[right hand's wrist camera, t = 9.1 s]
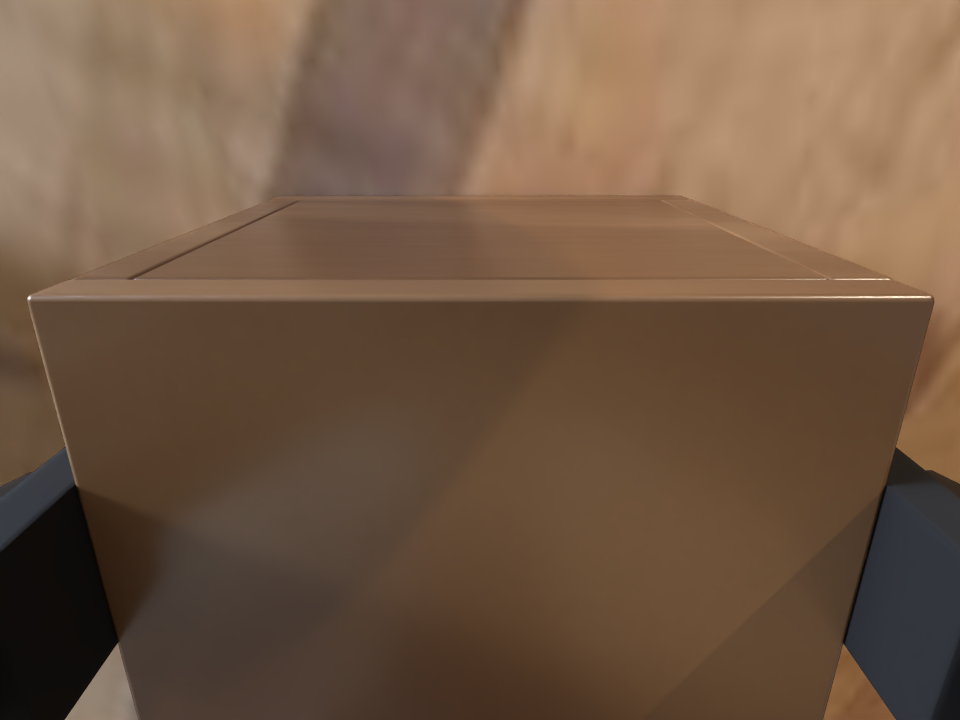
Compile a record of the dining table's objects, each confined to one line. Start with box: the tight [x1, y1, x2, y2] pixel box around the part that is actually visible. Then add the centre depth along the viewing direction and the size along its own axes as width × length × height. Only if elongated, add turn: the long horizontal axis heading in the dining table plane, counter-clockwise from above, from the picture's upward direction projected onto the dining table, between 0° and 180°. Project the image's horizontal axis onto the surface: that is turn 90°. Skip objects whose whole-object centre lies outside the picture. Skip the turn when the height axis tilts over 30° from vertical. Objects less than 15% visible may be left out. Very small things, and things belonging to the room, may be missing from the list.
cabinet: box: [27, 196, 934, 720], centre depth 15 cm, size 16×11×10 cm
